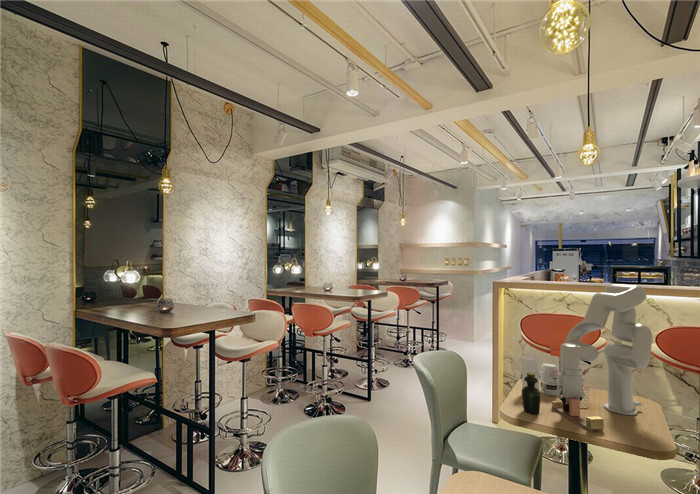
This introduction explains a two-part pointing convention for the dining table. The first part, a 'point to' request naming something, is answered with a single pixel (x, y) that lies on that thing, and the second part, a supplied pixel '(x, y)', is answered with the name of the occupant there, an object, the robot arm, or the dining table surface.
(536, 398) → the potion bottle
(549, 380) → the supplement can
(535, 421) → the dining table surface
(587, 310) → the robot arm
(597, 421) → the post
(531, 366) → the clear plastic bottle
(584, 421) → the track
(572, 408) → the block
